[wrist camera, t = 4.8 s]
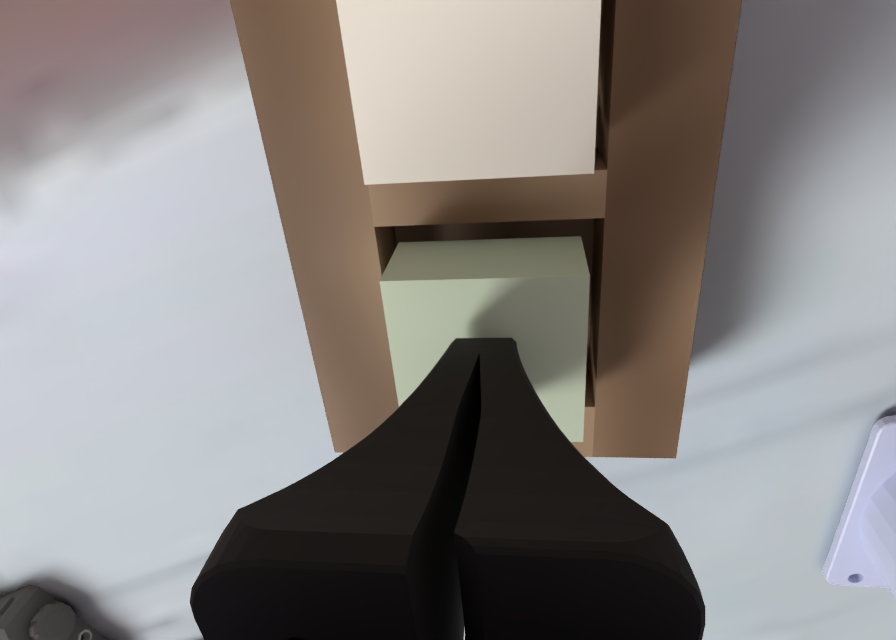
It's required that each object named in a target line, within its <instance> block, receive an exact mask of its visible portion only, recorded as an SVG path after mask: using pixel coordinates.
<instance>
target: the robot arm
mask: <svg viewBox="0 0 896 640" xmlns="http://www.w3.org/2000/svg"><path fill="white" fill-rule="evenodd" d="M823 574H824V576H825V578H826V579H827V581H828V582H829V583H831V584H833V585H840V586H863V587H885V588H889V589H890V591H891V593H892V594H893V596H894V598H895V599H896V415H893V416H886V417H884V418H881V419H880V420H878V421H877V422H876V423H875V424H874V426H873V428H872V431H871V434H870V436H869V439H868V442H867V445H866V448H865V451H864V454H863V456H862V459H861V462H860V465H859V468H858V471H857V474H856V476H855V479H854V482H853V485H852V488H851V491H850V493H849V496H848V499H847V502H846V505H845V508H844V511H843V513H842V516H841V519H840V522H839V525H838V528H837V531H836V533H835V536H834V539H833V542H832V545H831V548H830V551H829V553H828V556H827V559H826V562H825V565H824V568H823ZM190 605H191V608H192V612H193V615H194V618H195V621H196V623H197V625H198V627H199V629H200V631H201V633H202V635H203V638H204V640H463V637H464V627H465V640H702V636H703V632H704V627H705V605H704V602H703V598H702V595H701V591H700V589H699V586H698V583H697V581H696V578H695V576H694V574H693V572H692V569H691V567H690V565H689V563H688V561H687V559H686V556H685V554H684V552H683V550H682V548H681V547H680V545H679V543H678V541H677V539H676V537H675V536H674V534H673V532H672V530H671V529H670V527H669V525H668V524H667V523H665V522H664V521H662V520H661V519H660V518H658V517H657V516H655V515H654V514H652V513H651V512H649V511H648V510H646V509H645V508H643V507H642V506H640V505H639V504H638V503H636V502H635V501H633V500H632V499H630V498H629V497H628V496H626V495H625V494H624V493H622V492H621V491H620V490H619V489H618V488H616V487H615V486H614V485H613V484H611V483H610V482H609V481H608V480H607V479H606V478H605V477H604V476H603V475H602V474H601V473H600V472H599V471H598V470H597V469H596V468H595V467H594V466H593V465H592V464H591V463H589V462H588V461H587V460H586V459H585V458H584V457H583V456H582V454H581V453H580V452H579V451H578V450H577V449H576V448H575V447H574V445H573V444H572V443H571V442H570V441H569V440H568V438H567V437H566V436H565V435H564V433H563V432H562V431H561V430H560V428H559V427H558V426H557V424H556V423H555V421H554V420H553V419H552V417H551V416H550V414H549V413H548V411H547V410H546V408H545V407H544V405H543V404H542V402H541V400H540V399H539V397H538V395H537V393H536V392H535V390H534V388H533V386H532V384H531V382H530V380H529V378H528V376H527V374H526V372H525V370H524V367H523V365H522V362H521V360H520V357H519V353H518V349H517V342H516V341H515V340H514V339H513V338H456V339H455V340H454V341H453V342H452V343H451V344H450V345H449V347H448V348H447V350H446V351H445V353H444V354H443V355H442V357H441V358H440V359H439V361H438V362H437V363H436V365H435V366H434V367H433V369H432V370H431V371H430V372H429V374H428V375H427V376H426V377H425V379H424V380H423V381H422V382H421V383H420V385H419V386H418V387H417V388H416V389H415V390H414V392H413V393H412V394H411V395H410V396H409V397H408V398H407V399H406V400H405V401H404V402H403V403H402V404H401V405H400V406H399V407H398V409H397V410H396V411H395V412H394V413H393V414H392V415H391V416H389V417H388V418H387V419H386V420H385V421H384V422H383V423H382V424H381V425H380V426H379V427H377V428H376V429H375V430H374V431H373V432H372V433H370V434H369V435H368V436H367V437H365V438H364V439H363V440H361V441H360V442H359V443H357V444H356V445H354V446H353V447H351V448H350V449H349V450H347V451H346V452H344V453H343V454H342V455H340V456H339V457H337V458H336V459H334V460H333V461H331V462H330V463H328V464H327V465H325V466H323V467H322V468H320V469H318V470H317V471H315V472H313V473H312V474H310V475H308V476H306V477H304V478H303V479H301V480H299V481H297V482H295V483H294V484H292V485H290V486H288V487H286V488H284V489H282V490H280V491H278V492H275V493H273V494H271V495H269V496H267V497H265V498H262V499H260V500H258V501H256V502H254V503H252V504H250V505H247V506H245V507H243V508H240V509H238V510H237V512H236V513H235V515H234V516H233V518H232V519H231V521H230V522H229V524H228V525H227V527H226V528H225V530H224V531H223V533H222V534H221V536H220V538H219V540H218V541H217V543H216V545H215V547H214V549H213V550H212V552H211V554H210V556H209V558H208V559H207V561H206V563H205V565H204V567H203V569H202V570H201V572H200V574H199V576H198V578H197V580H196V581H195V583H194V585H193V587H192V591H191V598H190Z"/></svg>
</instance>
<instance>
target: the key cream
mask: <svg viewBox="0 0 896 640" xmlns="http://www.w3.org/2000/svg"><path fill="white" fill-rule="evenodd" d="M336 3H337V10H338V16H339V23H340V29H341V36H342V42H343V49H344V55H345V62H346V68H347V75H348V81H349V88H350V94H351V101H352V107H353V114H354V120H355V126H356V133H357V139H358V146H359V152H360V159H361V165H362V172H363V178H364V185H371V184H392V183H412V182H432V181H453V180H473V179H494V178H514V177H534V176H555V175H575V174H594V165H595V140H596V116H597V91H598V67H599V42H600V18H601V0H336Z"/></svg>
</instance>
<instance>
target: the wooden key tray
mask: <svg viewBox="0 0 896 640" xmlns="http://www.w3.org/2000/svg"><path fill="white" fill-rule="evenodd" d="M230 3H231V7H232V11H233V16H234V20H235V24H236V29H237V33H238V37H239V41H240V46H241V50H242V54H243V59H244V63H245V67H246V72H247V76H248V80H249V85H250V89H251V93H252V97H253V102H254V106H255V110H256V115H257V119H258V123H259V128H260V132H261V136H262V140H263V145H264V149H265V153H266V158H267V162H268V166H269V171H270V175H271V179H272V183H273V188H274V192H275V196H276V201H277V205H278V209H279V214H280V218H281V222H282V226H283V231H284V235H285V239H286V244H287V248H288V252H289V257H290V261H291V265H292V270H293V274H294V278H295V282H296V287H297V291H298V295H299V300H300V304H301V308H302V313H303V317H304V321H305V325H306V330H307V334H308V338H309V343H310V347H311V351H312V356H313V360H314V364H315V368H316V373H317V377H318V381H319V386H320V390H321V394H322V399H323V403H324V407H325V412H326V416H327V420H328V424H329V429H330V433H331V437H332V442H333V446H334V450H335V452H346V451H347V450H349V449H350V448H351V447H353V446H354V445H356V444H357V443H359V442H360V441H361V440H363V439H364V438H365V437H367V436H368V435H369V434H370V433H372V432H373V431H374V430H375V429H376V428H377V427H379V426H380V425H381V424H382V423H383V422H384V421H385V420H386V419H387V418H388V417H389V416H391V415H392V414H393V413H394V412H395V411H396V410H397V409H398V407H399V405H398V399H397V392H396V386H395V379H394V373H393V366H392V360H391V353H390V347H389V340H388V334H387V327H386V321H385V314H384V308H383V301H382V295H381V288H380V282H379V281H380V279H381V277H382V275H383V273H384V271H385V269H386V267H387V265H388V263H389V261H390V259H391V257H392V255H393V253H394V251H395V249H396V247H397V245H398V243H399V242H426V241H455V240H484V239H513V238H542V237H571V236H581V238H582V243H583V247H584V252H585V256H586V261H587V265H588V269H589V274H590V288H589V312H588V337H587V361H586V386H585V410H584V435H583V442H571V443H572V444H573V445H574V447H575V448H576V449H577V450H578V451H579V452H580V453H581V454H582V456H583V457H632V458H676V454H677V447H678V440H679V433H680V427H681V420H682V413H683V406H684V399H685V392H686V385H687V378H688V371H689V364H690V357H691V350H692V343H693V336H694V330H695V323H696V316H697V309H698V302H699V295H700V288H701V281H702V274H703V267H704V260H705V253H706V246H707V239H708V233H709V226H710V219H711V212H712V205H713V198H714V191H715V184H716V177H717V170H718V163H719V156H720V149H721V142H722V135H723V129H724V122H725V115H726V108H727V101H728V94H729V87H730V80H731V73H732V66H733V59H734V52H735V45H736V38H737V32H738V25H739V18H740V11H741V4H742V0H601V18H600V42H599V67H598V91H597V116H596V140H595V165H594V174H575V175H555V176H534V177H514V178H494V179H473V180H453V181H432V182H412V183H392V184H371V185H364V178H363V172H362V165H361V159H360V152H359V146H358V139H357V133H356V126H355V120H354V114H353V107H352V101H351V94H350V88H349V81H348V75H347V68H346V62H345V55H344V49H343V42H342V36H341V29H340V23H339V16H338V10H337V3H336V0H230Z"/></svg>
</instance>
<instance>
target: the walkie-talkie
mask: <svg viewBox="0 0 896 640" xmlns="http://www.w3.org/2000/svg"><path fill="white" fill-rule="evenodd" d="M0 640H106V639H105V638H104V637H103V636H101V635H100V634H99V633H98V632H96V631H95V630H94V629H92V628H91V627H90V626H89V625H87V624H86V623H85V622H84V621H82V620H81V619H80V618H78V617H77V616H76V615H75V614H74V612H73V609H72V607H71V606H70V605H65V604H64V603H63V602H58V601H57V600H56V599H54V598H53V597H52V596H50V595H49V594H48V593H47V592H45V591H44V590H43V589H42V588H40V587H38V586H32V585H28V586H26V587H23V588H21V589H18V590H15V591H13V592H10V593H8V594H5V595H2V596H0Z"/></svg>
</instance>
